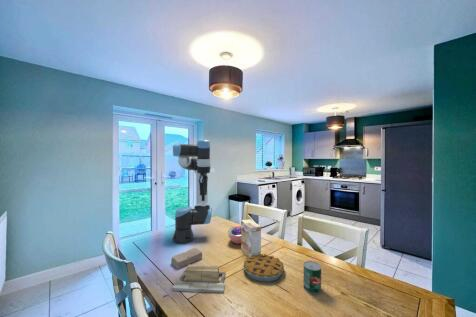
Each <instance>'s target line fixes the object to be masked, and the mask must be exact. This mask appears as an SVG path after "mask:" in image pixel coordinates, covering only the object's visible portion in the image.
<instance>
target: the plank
mask: <svg viewBox="0 0 476 317" xmlns="http://www.w3.org/2000/svg"><path fill="white" fill-rule="evenodd" d="M186 266H187V267H186V269H184V271H185V278H184V280H185V281H184V282H206V283H208V282H209V283H219V279H220V276H219V272H220V265H209V264H208V265H207V264H188V265H186Z"/></svg>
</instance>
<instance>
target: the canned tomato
mask: <svg viewBox="0 0 476 317" xmlns="http://www.w3.org/2000/svg"><path fill="white" fill-rule="evenodd" d="M303 289H304V291H305V292H307V293H308V294H312V295H318V294H319V295H320V293H321V292H322V266H321V264H319V262H316V261H313V260H308V261H307V260H306V261H304V262H303Z"/></svg>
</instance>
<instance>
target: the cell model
mask: <svg viewBox="0 0 476 317" xmlns="http://www.w3.org/2000/svg"><path fill="white" fill-rule="evenodd" d="M226 233H227V236H228V238H229V239H230V241H231V242H233V243H235V244H240V245H241V226H240V225H239V226H233V227H229V230H228V231H227V232H226Z"/></svg>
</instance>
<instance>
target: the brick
mask: <svg viewBox="0 0 476 317" xmlns="http://www.w3.org/2000/svg"><path fill="white" fill-rule="evenodd" d="M201 259H203V251H202V250H200V249H198V248H196V247H193V248H190V249H189V250H187V251H183V252H181V253H177V254H176V255H173V256H172V257H171V261H170V262H171V265H172V266H173V267H174V268H175V269H177V270H179V269H182V268H183V267H186V266H188V265H192V264H193V263H195V262H197V261H199V260H201Z"/></svg>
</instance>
